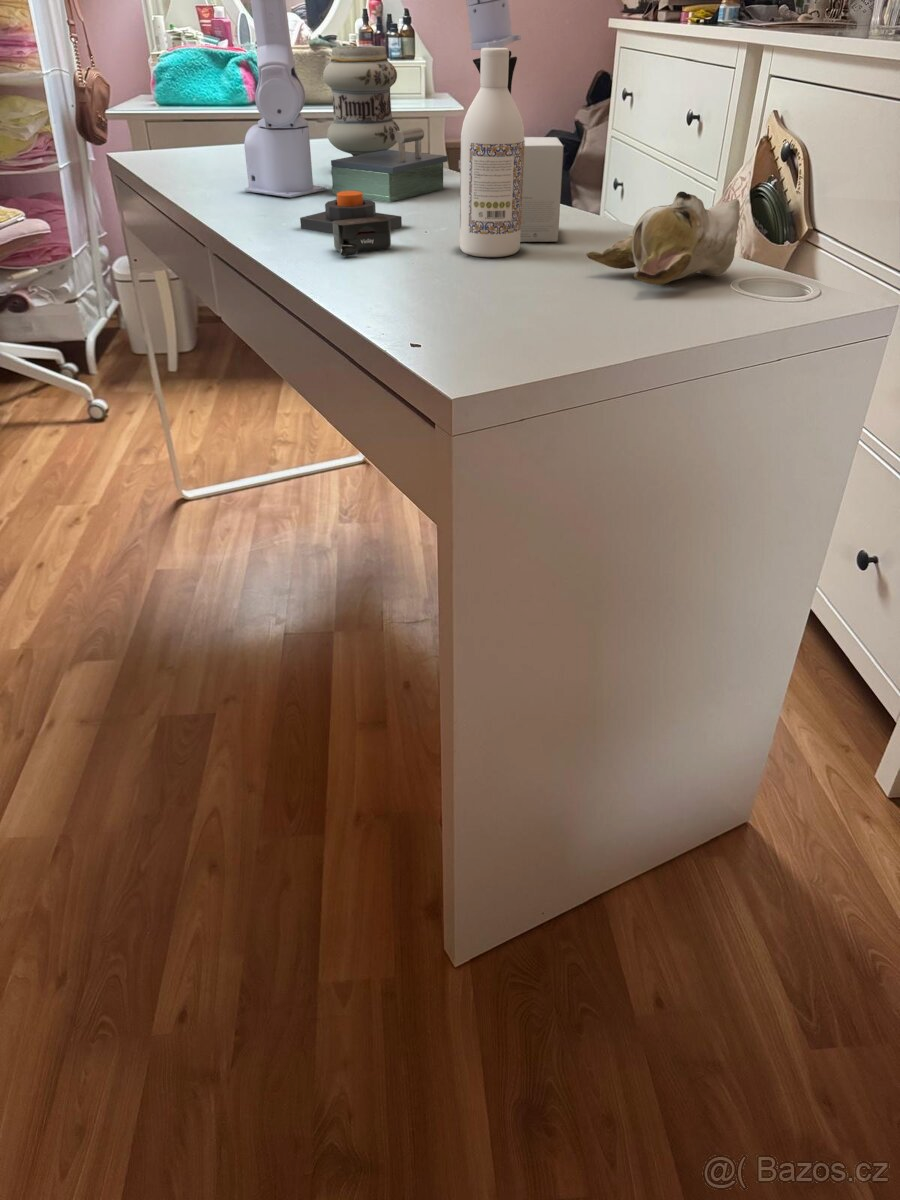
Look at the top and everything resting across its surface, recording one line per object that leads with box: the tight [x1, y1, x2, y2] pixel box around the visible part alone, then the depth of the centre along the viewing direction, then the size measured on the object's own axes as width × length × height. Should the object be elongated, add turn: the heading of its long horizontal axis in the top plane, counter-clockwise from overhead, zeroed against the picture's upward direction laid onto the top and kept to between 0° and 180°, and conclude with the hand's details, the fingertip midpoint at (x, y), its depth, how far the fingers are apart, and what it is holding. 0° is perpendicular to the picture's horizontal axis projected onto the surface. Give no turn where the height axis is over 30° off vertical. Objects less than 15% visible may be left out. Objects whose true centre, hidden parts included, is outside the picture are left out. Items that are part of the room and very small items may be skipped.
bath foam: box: [459, 47, 525, 258], centre depth 98 cm, size 7×7×20 cm
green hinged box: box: [330, 162, 444, 203], centre depth 134 cm, size 11×14×4 cm
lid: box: [330, 127, 449, 173], centre depth 131 cm, size 11×14×5 cm
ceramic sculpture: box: [586, 191, 741, 286], centre depth 91 cm, size 11×9×15 cm
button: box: [336, 191, 364, 206], centre depth 112 cm, size 3×3×2 cm
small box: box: [520, 136, 564, 243], centre depth 107 cm, size 8×6×10 cm
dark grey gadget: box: [332, 216, 392, 258], centre depth 102 cm, size 5×7×3 cm, turn 118°
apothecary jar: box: [322, 45, 401, 156], centre depth 146 cm, size 12×12×18 cm
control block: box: [299, 198, 403, 235], centre depth 113 cm, size 10×8×3 cm
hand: (500, 112), depth 130 cm, fingers open, 7 cm apart
